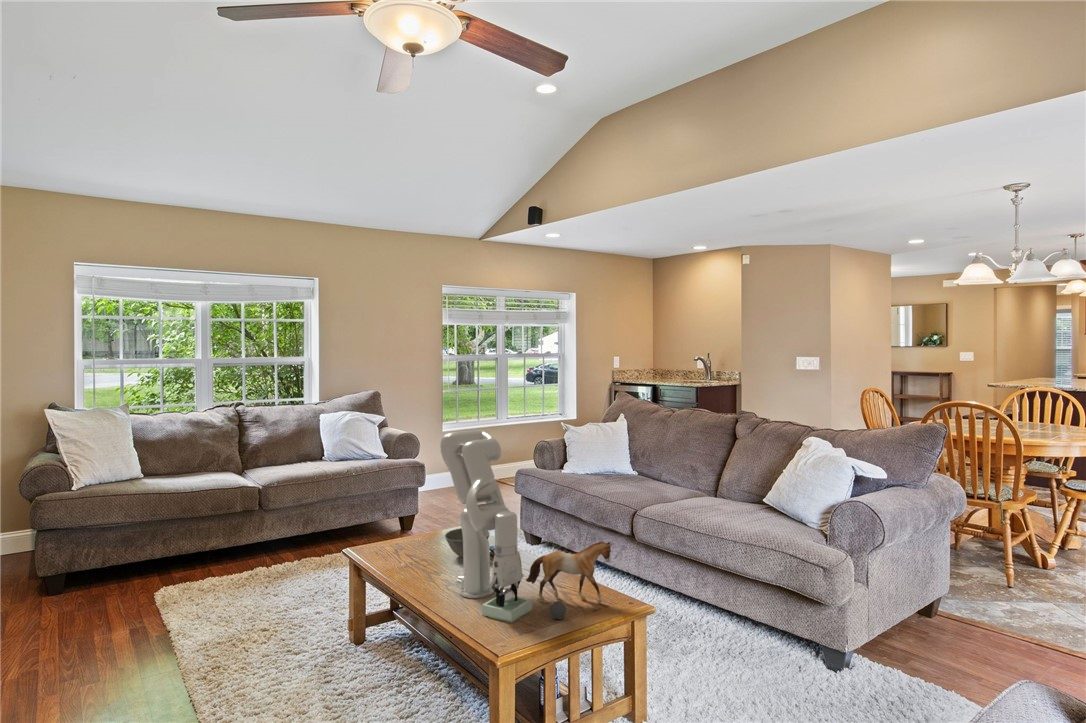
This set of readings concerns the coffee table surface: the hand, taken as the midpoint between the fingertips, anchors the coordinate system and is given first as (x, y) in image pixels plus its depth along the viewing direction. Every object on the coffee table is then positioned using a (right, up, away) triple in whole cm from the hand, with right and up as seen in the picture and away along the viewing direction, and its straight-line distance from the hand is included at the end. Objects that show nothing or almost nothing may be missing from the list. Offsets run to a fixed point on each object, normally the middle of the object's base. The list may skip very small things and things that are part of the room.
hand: (506, 602), depth 217 cm
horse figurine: (+21, -3, +13) cm, 25 cm away
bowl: (-20, -3, +58) cm, 61 cm away
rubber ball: (+17, -3, -5) cm, 18 cm away
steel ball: (0, -1, 0) cm, 1 cm away
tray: (0, -3, 0) cm, 3 cm away
